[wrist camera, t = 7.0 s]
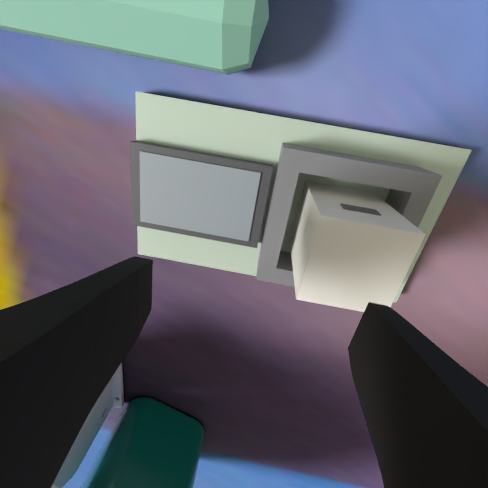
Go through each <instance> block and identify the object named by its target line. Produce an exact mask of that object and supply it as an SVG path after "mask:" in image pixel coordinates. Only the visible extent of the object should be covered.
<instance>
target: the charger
mask: <svg viewBox="0 0 488 488" xmlns="http://www.w3.org/2000/svg"><path fill="white" fill-rule="evenodd" d="M425 235H426V234H425V233H423V232H422V231H421V230H420V229H418V228H417V227H416V226H415V225H413V224H412V223H411V222H410V221H409V220H407V219H406V218H405V217H404V216H402V215H401V214H400V213H399V212H397V211H396V210H395V209H394V208H392V207H391V206H390V205H389V204H387V203H386V202H385V201H384V200H382V199H381V198H380V197H379V196H377V195H376V194H375V193H371V192H366V191H360V190H354V189H349V188H343V187H338V186H332V185H326V184H321V183H315V182H309V181H305V184H304V188H303V192H302V196H301V200H300V204H299V207H298V211H297V215H296V219H295V223H294V227H293V231H292V235H291V239H290V250H291V258H292V267H293V276H294V284H295V293H296V299H297V300H303V301H308V302H313V303H319V304H324V305H329V306H335V307H340V308H345V309H351V310H356V311H361V312H364V311H365V309H366V307H367V305H368V303H369V302H371V303H376V304H381V305H386V306H389V307H391V305H392V302H393V300H394V298H395V296H396V294H397V292H398V290H399V288H400V286H401V284H402V282H403V280H404V278H405V276H406V274H407V272H408V270H409V268H410V266H411V263H412V261H413V259H414V257H415V255H416V253H417V251H418V249H419V247H420V245H421V243H422V241H423V239H424V237H425Z"/></svg>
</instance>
